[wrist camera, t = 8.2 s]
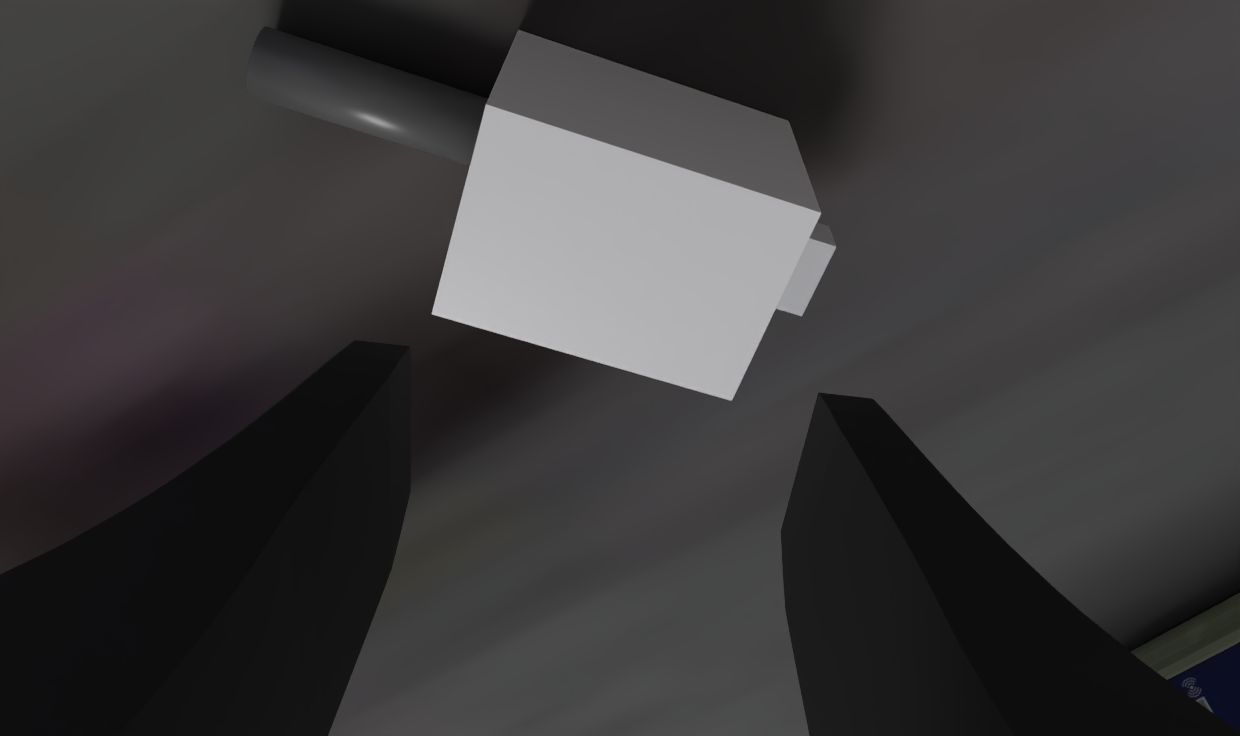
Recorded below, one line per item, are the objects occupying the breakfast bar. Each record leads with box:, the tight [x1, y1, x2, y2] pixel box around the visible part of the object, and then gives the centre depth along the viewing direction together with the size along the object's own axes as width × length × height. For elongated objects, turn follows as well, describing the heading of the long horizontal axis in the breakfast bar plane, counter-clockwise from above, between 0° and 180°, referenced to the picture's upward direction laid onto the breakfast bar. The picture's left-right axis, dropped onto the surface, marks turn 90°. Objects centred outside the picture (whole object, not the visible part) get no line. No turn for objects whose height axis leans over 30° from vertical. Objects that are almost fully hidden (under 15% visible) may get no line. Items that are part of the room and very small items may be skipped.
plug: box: [247, 27, 836, 401], centre depth 16 cm, size 10×4×4 cm, turn 72°
